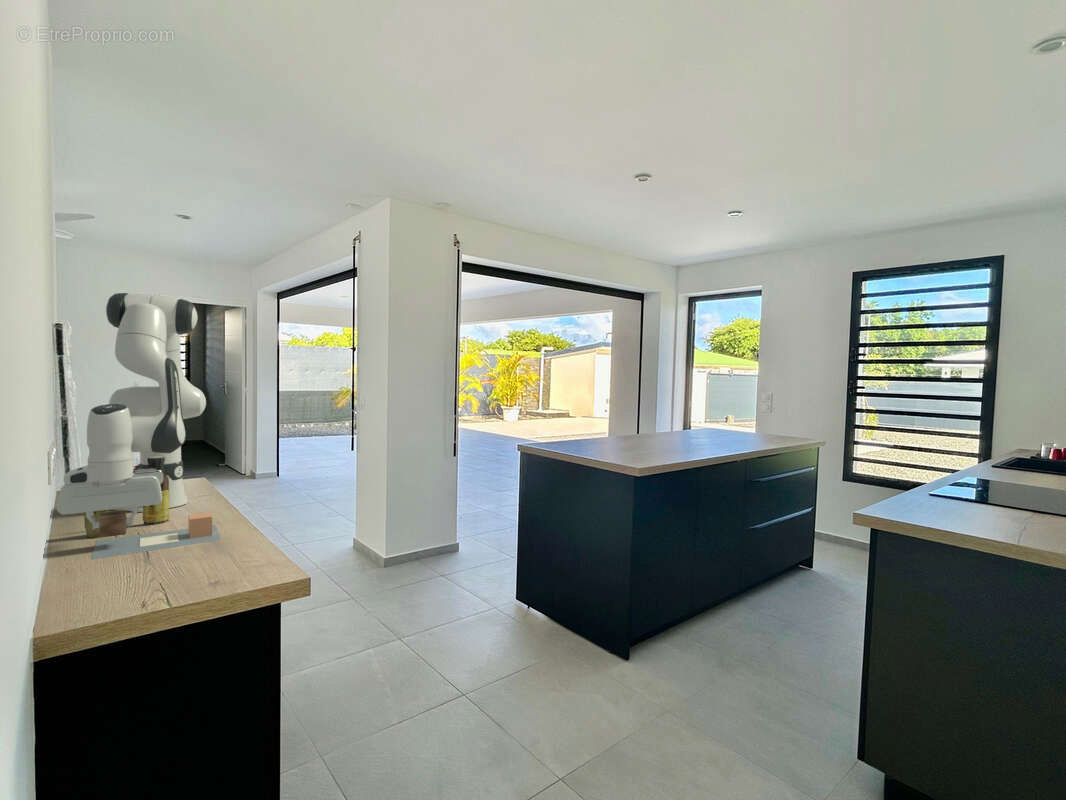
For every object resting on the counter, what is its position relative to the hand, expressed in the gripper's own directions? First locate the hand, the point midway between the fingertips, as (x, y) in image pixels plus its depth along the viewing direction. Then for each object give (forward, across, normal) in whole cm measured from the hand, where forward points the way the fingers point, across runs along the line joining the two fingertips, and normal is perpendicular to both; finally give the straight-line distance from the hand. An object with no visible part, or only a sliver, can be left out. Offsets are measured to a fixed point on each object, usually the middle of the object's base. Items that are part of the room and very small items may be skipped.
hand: (113, 526), depth 133 cm
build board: (+6, -9, +1) cm, 11 cm away
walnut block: (+2, 0, 0) cm, 2 cm away
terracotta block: (+5, -18, +1) cm, 19 cm away
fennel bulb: (+6, +4, -13) cm, 15 cm away
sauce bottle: (+7, -9, -20) cm, 23 cm away
